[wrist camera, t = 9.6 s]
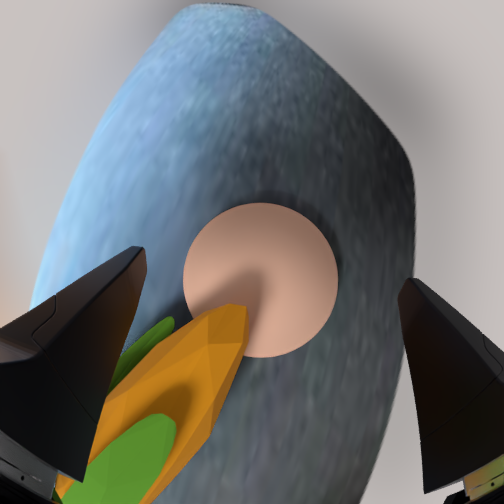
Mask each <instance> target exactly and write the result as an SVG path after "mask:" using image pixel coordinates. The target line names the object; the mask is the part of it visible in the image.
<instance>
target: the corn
mask: <svg viewBox="0 0 504 504" xmlns="http://www.w3.org/2000/svg"><path fill="white" fill-rule="evenodd" d="M174 324H175V320H174V319H173V318H172V317H166V318H165V319H163V320H162V321H160V322H159V323H157V324H156V325H155V326H154V327H152V328H151V329H150V330H148V331H147V332H146V333H145V334H144V335H143V336H142V337H141V338H139V339H138V340H137V341H136V342H135V343H134V344H133V345H132V346H131V347H130V348H128V349H127V350H126V351H125V352H124V353H123V354H122V355H121V357H120V358H119V360H118V363H117V366H116V369H115V372H114V375H113V378H112V381H111V384H110V387H109V390H108V393H107V396H106V399H105V402H104V406H103V409H102V412H101V416H100V419H99V423H98V425H97V426H98V427H97V430H96V434H95V437H94V441H93V445H92V449H91V452H90V456H89V460H88V464H87V469H86V473H85V477H84V481H83V483H80V482H78V481H75V480H73V479H71V478H68V477H66V476H63V475H61V474H59V473H57V477H56V481H55V490H56V492H57V494H58V495H59V497H60V499H61V501H62V502H63V504H151V503H152V502H153V501H154V500H155V499H156V498H157V496H158V495H159V494H160V493H161V492H162V491H163V490H164V489H165V488H166V487H167V486H168V484H169V483H170V482H171V481H172V480H173V479H174V478H175V477H176V475H177V474H178V473H179V472H180V471H181V470H182V469H183V467H184V466H185V465H186V464H187V463H188V462H189V460H190V459H191V458H192V457H193V456H194V455H195V453H196V452H197V451H198V450H199V449H200V447H201V446H202V445H203V444H204V443H205V441H206V440H207V439H208V438H209V436H210V434H211V432H212V429H213V427H214V425H215V422H216V420H217V418H218V415H219V413H220V411H221V408H222V406H223V403H224V401H225V399H226V396H227V394H228V391H229V389H230V387H231V384H232V382H233V379H234V377H235V374H236V372H237V369H238V367H239V365H240V362H241V360H242V357H243V355H244V352H245V350H246V347H247V345H248V342H249V315H248V311H247V306H242V305H236V304H231V303H229V304H226V305H223V306H220V307H217V308H214V309H211V310H208V311H205V312H203V313H202V314H200V315H199V316H198V317H196V318H195V319H193V320H192V321H190V322H189V323H187V324H186V325H185V326H183V327H182V328H180V329H179V330H177V331H176V332H174V333H173V334H171V333H172V331H173V329H174Z"/></svg>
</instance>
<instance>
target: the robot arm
mask: <svg viewBox="0 0 504 504" xmlns="http://www.w3.org/2000/svg"><path fill="white" fill-rule="evenodd" d="M146 274H147V263H146V254H145V249H144V248H143V247H139V246H131V247H129V248H128V249H126V250H124V251H123V252H121V253H119V254H118V255H116V256H114V257H113V258H111V259H109V260H108V261H106V262H105V263H103V264H101V265H100V266H98V267H97V268H95V269H93V270H92V271H90V272H89V273H87V274H86V275H84V276H82V277H81V278H79V279H78V280H76V281H75V282H73V283H72V284H70V285H68V286H67V287H65V288H64V289H62V290H61V291H59V292H58V293H56V295H53V296H52V297H50V298H49V299H47V300H46V301H44V302H43V303H41V304H40V305H38V306H37V307H35V308H34V309H32V310H30V311H29V312H27V313H25V314H24V315H22V316H20V317H19V318H17V319H15V320H13V321H12V322H10V323H8V324H7V325H5V326H3V327H2V328H0V504H63V502H62V501H61V499H60V497H59V495H58V494H57V492H56V490H55V488H54V485H55V481H56V477H57V473H59V474H61V475H63V476H66V477H68V478H71V479H73V480H75V481H78V482H80V483H83V481H84V477H85V473H86V469H87V464H88V460H89V456H90V452H91V449H92V445H93V441H94V437H95V434H96V430H97V427H98V426H97V425H98V423H99V419H100V416H101V412H102V409H103V406H104V402H105V399H106V396H107V393H108V390H109V387H110V384H111V381H112V378H113V375H114V372H115V369H116V366H117V363H118V360H119V357H120V354H121V351H122V349H123V346H124V343H125V340H126V338H127V335H128V332H129V330H130V327H131V324H132V322H133V319H134V316H135V314H136V310H137V307H138V303H139V299H140V296H141V292H142V288H143V285H144V281H145V277H146ZM398 307H399V313H400V320H401V328H402V335H403V340H404V345H405V349H406V354H407V359H408V364H409V369H410V374H411V380H412V385H413V391H414V397H415V404H416V410H417V418H418V425H419V434H420V441H421V442H420V444H421V455H422V469H423V489H424V494H427V493H430V492H433V491H436V490H439V489H441V488H444V487H447V486H450V485H452V484H455V483H457V482H460V481H462V480H463V484H464V490H461V491H459V492H457V493H454V494H452V495H449V496H447V498H446V500H445V501H444V503H443V504H504V352H503V351H502V350H500V348H498V347H497V346H496V345H495V344H494V343H493V342H492V341H491V340H490V339H488V338H487V337H486V336H485V335H484V334H482V332H480V330H479V329H477V328H476V327H475V326H474V325H473V324H472V323H471V322H469V321H468V320H467V319H466V318H465V317H464V316H463V315H461V314H460V313H459V312H458V311H457V310H456V309H455V308H453V307H452V306H451V305H450V304H448V303H447V302H446V301H445V300H444V299H443V298H441V297H440V296H439V295H438V294H437V293H435V292H434V291H433V290H431V288H429V287H428V286H427V285H425V284H424V283H423V282H422V281H421V280H419V279H417V278H408V279H407V280H406V281H405V283H404V285H403V287H402V289H401V291H400V293H399V295H398Z"/></svg>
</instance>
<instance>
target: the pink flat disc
mask: <svg viewBox="0 0 504 504" xmlns="http://www.w3.org/2000/svg"><path fill="white" fill-rule="evenodd" d="M183 285H184V293H185V298H186V302H187V305H188V308H189V310H190V312H191V314H192V316H193V318H194V319H195V318H196V317H198V316H199V315H200V314H202V313H203V312H205V311H208V310H211V309H214V308H217V307H220V306H223V305H226V304H229V303H231V304H236V305H242V306H247V311H248V315H249V342H248V345H247V347H246V350H245V352H244V355H243V356H249V357H262V358H264V357H274V356H278V355H282V354H285V353H288V352H291V351H293V350H295V349H297V348H299V347H301V346H302V345H304V344H305V343H307V342H308V341H309V340H311V339H312V338H313V337H314V336H315V335H316V334H317V333H318V332H319V331H320V329H321V328H322V327H323V326H324V324H325V323H326V321H327V319H328V318H329V316H330V314H331V311H332V309H333V307H334V303H335V300H336V296H337V289H338V272H337V266H336V261H335V257H334V255H333V252H332V249H331V247H330V245H329V244H328V242H327V240H326V238H325V237H324V236H323V234H322V233H321V231H320V230H319V229H318V228H317V227H316V226H315V225H314V224H313V223H312V222H311V221H309V220H308V219H307V218H306V217H304V216H303V215H301V214H300V213H298V212H296V211H294V210H292V209H289V208H286V207H284V206H281V205H276V204H271V203H250V204H245V205H240V206H237V207H234V208H231V209H229V210H227V211H225V212H223V213H221V214H220V215H218V216H217V217H215V218H214V219H212V220H211V221H210V222H209V223H208V224H207V225H206V226H205V227H204V228H203V229H202V230H201V231H200V232H199V234H198V235H197V237H196V238H195V240H194V241H193V243H192V245H191V247H190V249H189V252H188V255H187V258H186V262H185V266H184V275H183Z"/></svg>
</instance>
